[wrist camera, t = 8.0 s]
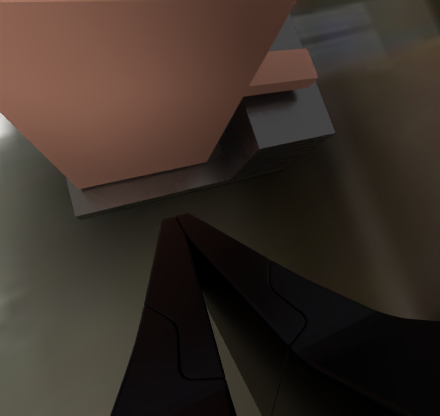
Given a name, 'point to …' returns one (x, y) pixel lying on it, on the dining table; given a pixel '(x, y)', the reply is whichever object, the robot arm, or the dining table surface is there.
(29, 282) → the dining table surface
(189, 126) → the brown upright block
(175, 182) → the gauge body
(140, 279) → the dining table surface
